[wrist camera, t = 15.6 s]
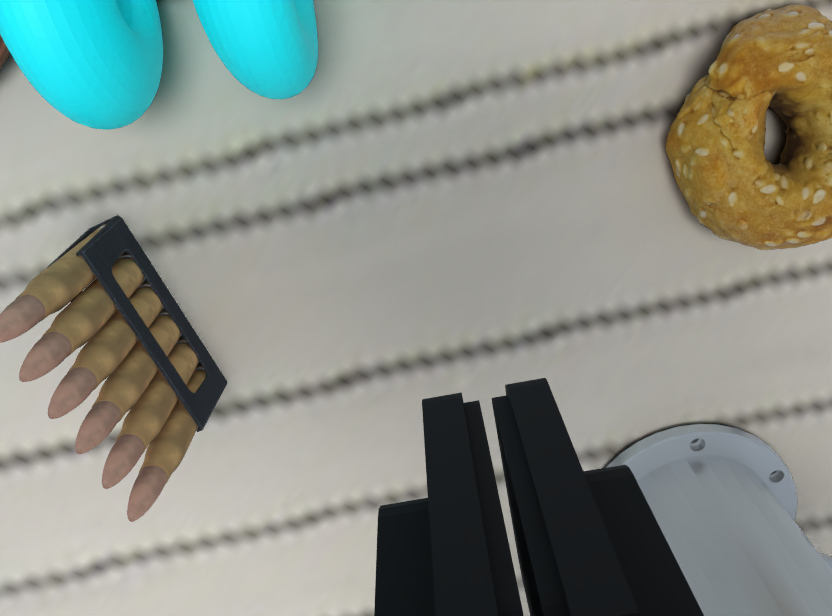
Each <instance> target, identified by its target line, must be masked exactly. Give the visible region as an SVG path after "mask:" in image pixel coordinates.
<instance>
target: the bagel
mask: <svg viewBox="0 0 832 616" xmlns="http://www.w3.org/2000/svg"><path fill="white" fill-rule="evenodd" d="M768 106H770V107H771V108H772V109H773V110H774V111H775V113H776V114H778V115H779V116H780V118H781V119H782V120H783V121H784V122H785V123H786V126H787V129H786V134H787V137H786V144H785V147H784V149H783V151H782V153H781V155H780V157H781V159H780V161H779V164H775V165H774V164H773V165H772V164H771V162H770V161H769V160H767V159H766V158H765V155H764V145H765V131H766V128H765V124H766V121H765V120H766V110H767V108H768ZM666 152H667V155H668V157H669V160H670V162H671V164H672V169H673V173H674V177H675V179H676V182H677V184H678V187H679V188H680V190H681V192H682V194H683V196H684V197H685V199H686V201H687V202H688V204H689V207H690V211H691V213H692V215H694V216H695V217H696V218H698V221H699V222H700V223H701V224H704V225H705V226H706V227H708V228H709V229H711V230H712V231H713V233H714V234H715V235H717V236H718V237H720V238H722V239H726V240H730V241H734V242H738V243H741V244H744V245H746V246H751V247H755V248H757V249H760V250H774V249H785V248H797V247H801V246H805V245H808V244H814V243H817V242H820V241H824V240H827V239H830V238H832V21H830V20H828V18H827V17H826V16H823V15H821V13H820V12H819V11H818V10H816V9H814V8H812V7H808V6H805V5H801V4H791V5H788V6H784V7H781V8H778V9H767V10H766V11H764V12H761V13H758V14H756V15H754V16H752V17H750V18H748V19H744V20H742V21H740V22H739V23H737V24H736V25H735V26H734V27H733V29H732V30H731V31H730V32H729V33H728V35H727V36H726V38H725V40H724V42H723V43H722V46H721V50H720V53H719V55H718V57H717V60H716V61H715V62H713V63H712V65H711V66H710V67H709V75H706V76H705V77H703V78H701V79H700V80H699V81H698V82H697V83H696V84H695V86H694V87H693V89H692V92H691V93H690V94H687V96H686V98H685V103H684V105H683V106H682V107H681V109H680V111H679V113H678V115H677V117H676V119H675V120H674V122H673V123H672V125H671V127H670V131H669V134H668V137H667V142H666Z"/></svg>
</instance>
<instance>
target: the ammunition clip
mask: <svg viewBox="0 0 832 616" xmlns="http://www.w3.org/2000/svg"><path fill="white" fill-rule="evenodd" d="M91 282H92V283H91ZM90 283H91V284H90ZM89 284H90V285H89ZM88 285H89V286H88ZM87 286H88V287H87ZM86 287H87V288H86ZM85 288H86V289H85ZM84 289H85V290H84ZM83 290H84V291H83ZM82 291H83V292H82ZM70 301H71V303H70V304H69V305H68V306H67V307H66V308H65V309H64V310H62V311H61V312H60V313H59V314H58V315H57V316H56V318H55V319H54V321H53V323H52V325H51V327H50V328H49V329H48V330H47V331H46V332H45V334H44V335H43V336H42V338H41V339H40V340H39V341H38V342H37V343H36V344H35V345H34V346H33V348H32V349H31V350H30V352H29V353H28V355H27V356H26V358H25V360H24V362H23V364H22V366H21V369H20V375H19V379H20V381H22V382H28V381H32V380H35V379H37V378H39V377H42V376H43V375H45V374H47V373H48V372H50V371H51V370H52V369H54V368H55V367H56V366H58V365H59V364H60V363H61V362H62V361H63V360H64V359H65V358H66V357H68V356H69V355H70V354H71V353H72V352H74V351H75V350H76V349H77V348H79V347H81V346H82V345H84V344H85V343H87V342H88V341H89V342H88V343H87V344H86V345H85V346H84V347H83V348H82V350H81V351H80V353H79V354H78V356H77V358H76V361H75V363H74V364H73V366H72V367H71V368H70V370H69V371H68V373H67V374H66V376H65V377H64V378H63V379H62V381H61V382H60V384H59V385H58V387H57V389H56V390H55V392H54V394H53V396H52V398H51V401H50V404H49V408H48V416H49V418H50V419H55V418H59V417H61V416H64V415H65V414H67V413H69V412H70V411H72V410H73V409H74V408H76V407H77V406H78V405H80V404H81V403H82V402H83V401H84V400H85V399H86V398H87V397H88V396H89V395H90V393H91V392H92V391H93V390H94V389H96V387H97V386H98V385H99V384H100V383H101V382H102V381H103V380H104V379H106V378H107V377H108V379H107V380H106V381H105V383H104V384H103V386H102V388H101V390H100V393H99V396H98V398H97V400H96V401H95V403H94V405H93V406H92V409H91V410H90V411H89V413H88V414H87V416H86V417H85V419H84V421H83V423H82V425H81V427H80V429H79V432H78V435H77V439H76V446H75V449H76V453H77V454H83V453H86V452H88V451H90V450H91V449H93V448H94V447H95V446H97V445H98V444H99V443H101V442H102V441H103V440H104V439H105V438H106V437H107V436H108V435H109V433H110V432H111V431H112V430H113V428H114V427H115V425H116V424H117V423H118V422H119V421H120V420H121V419H122V417H123V416H124V415H125V413H126V412H128V411H129V410H130V409H131V410H130V411H129V413H128V415H127V416H126V418H125V420H124V423H123V426H122V430H121V432H120V434H119V436H118V438H117V439H116V443H115V444H114V446H113V447H112V449H111V451H110V453H109V455H108V458H107V460H106V463H105V466H104V470H103V475H102V485H103V488H105V489H108V488H110V487H113V486H114V485H116V484H117V483H118V482H120V481H121V480H122V479H123V478H124V477H125V476H126V475H127V474H128V473H129V472H130V471H131V469H132V468H133V467H134V466H135V464H136V463H137V461H138V460H139V458H140V456H141V455H142V454H143V452H144V451H145V449H146V448H147V446H148V445H149V446H148V448H147V451H146V455H145V460H144V463H143V465H142V467H141V469H140V471H139V475H138V477H137V479H136V481H135V483H134V485H133V488H132V491H131V494H130V497H129V503H128V510H127V514H128V519H129V521H131V522H133V521H135V520H137V519H139V518H140V517H141V516H143V515H144V514H145V513H146V512H147V511H148V510H149V508H150V507H151V506H152V505H153V503H154V502H155V500H156V499H157V498H158V496H159V495H160V493H161V491H162V489H163V487H164V486H165V484H166V483H167V481H168V479H169V478H170V476H171V474H172V473H173V472H174V471H175V469H176V468H177V467H178V466H179V464H180V463H181V461H182V459H183V457H184V455H185V453H186V451H187V449H188V447H189V445H190V443H191V440H192V438H193V436H194V434H195V432H196V431H197V432H199V431H201V430H203V428H204V426H205V424H206V423H207V421H208V419H209V417H210V415H211V413H212V411H213V409H214V407H215V405H216V403H217V402H218V400H219V398H220V396H221V394H222V392H223V390H224V388H225V387H226V385H227V381H226V379H225V378H224V376H223V374H222V373H221V371H220V370H219V368H218V367H217V365H216V364H215V362H214V360H213V359H212V357H211V356H210V354H209V353H208V351H207V350H206V348H205V346H204V345H203V343H202V342H201V340H200V339H199V337H198V336H197V334H196V332H195V331H194V329H193V328H192V326H191V325H190V323H189V322H188V320H187V318H186V317H185V315H184V314H183V312H182V311H181V309H180V308H179V306H178V304H177V303H176V301H175V300H174V298H173V297H172V295H171V294H170V292H169V290H168V289H167V287H166V286H165V284H164V283H163V281H162V280H161V278H160V276H159V275H158V273H157V272H156V270H155V269H154V267H153V266H152V264H151V262H150V261H149V259H148V258H147V256H146V255H145V253H144V252H143V250H142V248H141V247H140V245H139V244H138V242H137V241H136V239H135V238H134V236H133V234H132V233H131V231H130V230H129V228H128V227H127V225H126V224H125V222H124V220H123V219H122V218H121V217H119V216H115V217H113V218H111V219H109V220H107V221H105V222H103V223H101V224H99V225H96V226H94V227H92V228H90V229H88V230H87V231H86V232H85V233H84V234H83V235H82V236H81V237H80V238H79V239H77V240H76V241H75V242H74V243H73V244H72V245H71V246H70V247H69V248H68V249H67V250H65V251H64V252H63V253H62V254H61V255H60V256H59V257H58V258H57V259H56V260H55V261H53V262H52V263H51V264H50V265H49V266H48V267H47V269H45V270H44V271H43V272H41V273H40V274H39V275H38V276H36V277H35V278H34V279H33V280H31V281H30V283H29V284H28V286H27V287H26V289H25V291H24V292H22V293H21V294H20V295H19V296H18V297H17V298H16V299H15V301H13V302H12V303H11V304H10V305H9V306H7V307H6V308H5V310H4V311H3V312H2V313H1V314H0V343H1V342H5V341H8V340H11V339H14V338H16V337H18V336H20V335H22V334H23V333H25V332H27V331H28V330H30V329H31V328H32V327H34V326H35V325H36V324H37V323H38V322H40V321H42V320H43V319H44V318H46V317H47V316H48V315H50V314H52V313H55V312H57V311H59V310H60V309H62V308H63V307H64V306H66V305H67V304H68V303H69V302H70ZM197 428H198V429H197Z"/></svg>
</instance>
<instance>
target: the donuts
mask: <svg viewBox="0 0 832 616" xmlns="http://www.w3.org/2000/svg"><path fill="white" fill-rule="evenodd" d="M193 3H194V5H195V8H196V11H197V13H198V16H199V18H200V21H201V23H202V25H203V28H204V30H205V32H206V34H207V36H208V38H209V40H210V42H211V44H212V46H213V48H214V50H215V51H216V53H217V55H218V56H219V58H220V59H221V61H222V62H223V63H224V65H225V66H226V67H227V69H228V70H229V71H230V72H231V73H232V75H233V76H234V77H235V78H236V79H237V80H238V81H239V82H240V83H242V84H243V85H244V86H246V87H247V88H248V89H249V90H251V91H253V92H255V93H257V94H259V95H261V96H264V97H267V98H271V99H285V98H290V97H293V96H295V95H297V94H299V93H300V92H302V91H303V90H304V89H305V88H306V87H307V86H308V85H309V83H310V81H311V80H312V78H313V77H314V74H315V71H316V67H317V61H318V36H317V26H316V18H315V11H314V3H313V0H193ZM0 35H1V37H2V39H3V41H4V43H5V45H6V46H7V48H8V50H9V51H10V53H11V55H12V56H13V58H14V60H15V61H16V63H17V65H18V66H19V68H20V69H21V71H22V72H23V73H24V75H25V76H26V78H27V79H28V80H29V82H30V83H31V84H32V85H33V87H34V88H35V89H36V90H37V91H38V92H39V94H40V95H41V96H42V97H43V98H44V99H45V100H46V101H47V102H48V103H49V104H51V105H52V106H53V107H54V108H55V109H57V110H58V111H59V112H61V113H62V114H63V115H65V116H66V117H68V118H70V119H71V120H73V121H75V122H77V123H79V124H82V125H85V126H88V127H91V128H95V129H115V128H121V127H124V126H126V125H128V124H131V123H133V122H134V121H135V120H137V119H138V118H139V117H141V116H142V115H143V114H144V112H145V111H146V110H147V109H148V107H149V106H150V105H151V103H152V101H153V99H154V97H155V95H156V93H157V90H158V87H159V84H160V79H161V74H162V66H163V39H162V29H161V22H160V16H159V11H158V7H157V2H156V0H0Z"/></svg>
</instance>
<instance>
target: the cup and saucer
mask: <svg viewBox="0 0 832 616" xmlns="http://www.w3.org/2000/svg"><path fill="white" fill-rule="evenodd" d="M9 54H10V51H9V50H8V48H7V46H6V45H5V43H4V41H3V39H2V37H1V35H0V69H1V67H2V66H3V64H4V63H5V61H6V60H7V58H8V56H9Z"/></svg>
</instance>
